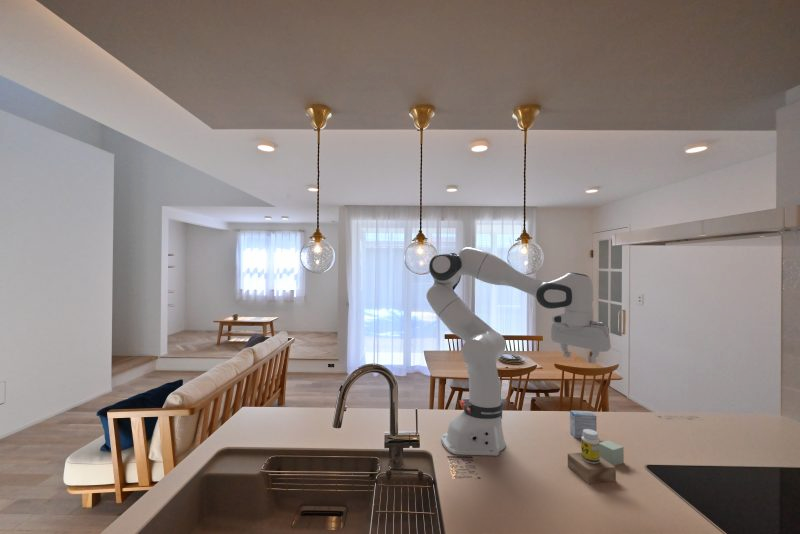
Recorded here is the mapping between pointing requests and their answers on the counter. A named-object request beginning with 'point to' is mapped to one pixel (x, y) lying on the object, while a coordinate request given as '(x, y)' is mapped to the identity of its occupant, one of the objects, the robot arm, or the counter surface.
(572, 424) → the medicine box
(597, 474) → the walnut block
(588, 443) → the supplement bottle
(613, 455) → the sage block
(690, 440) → the counter surface
